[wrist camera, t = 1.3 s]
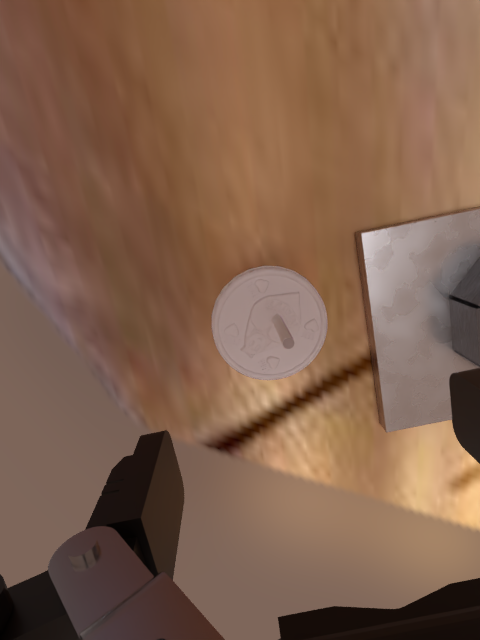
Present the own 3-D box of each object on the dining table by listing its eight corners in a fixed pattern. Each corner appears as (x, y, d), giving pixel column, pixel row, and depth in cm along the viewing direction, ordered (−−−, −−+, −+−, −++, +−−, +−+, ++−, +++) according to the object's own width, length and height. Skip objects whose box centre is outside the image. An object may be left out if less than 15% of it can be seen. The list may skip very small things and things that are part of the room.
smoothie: (315, 286, 32) (382, 342, 18) (262, 349, 33) (288, 444, 19) (251, 233, 31) (271, 249, 17) (197, 299, 32) (177, 364, 18)
